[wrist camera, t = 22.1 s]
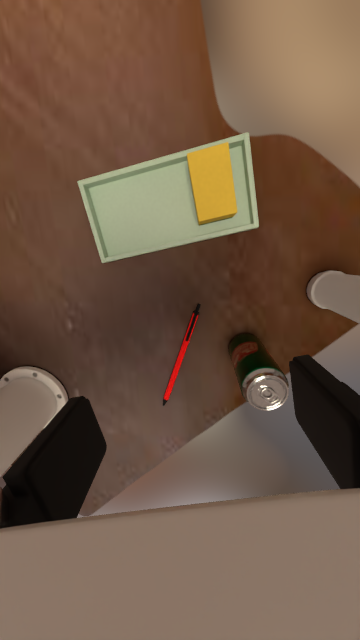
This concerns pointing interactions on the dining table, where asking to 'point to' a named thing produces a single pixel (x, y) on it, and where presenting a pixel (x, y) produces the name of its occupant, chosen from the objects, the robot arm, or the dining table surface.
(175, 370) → the pen
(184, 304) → the dining table surface
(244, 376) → the soda can
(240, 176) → the tray
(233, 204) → the sponge
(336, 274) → the bottle
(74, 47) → the dining table surface
